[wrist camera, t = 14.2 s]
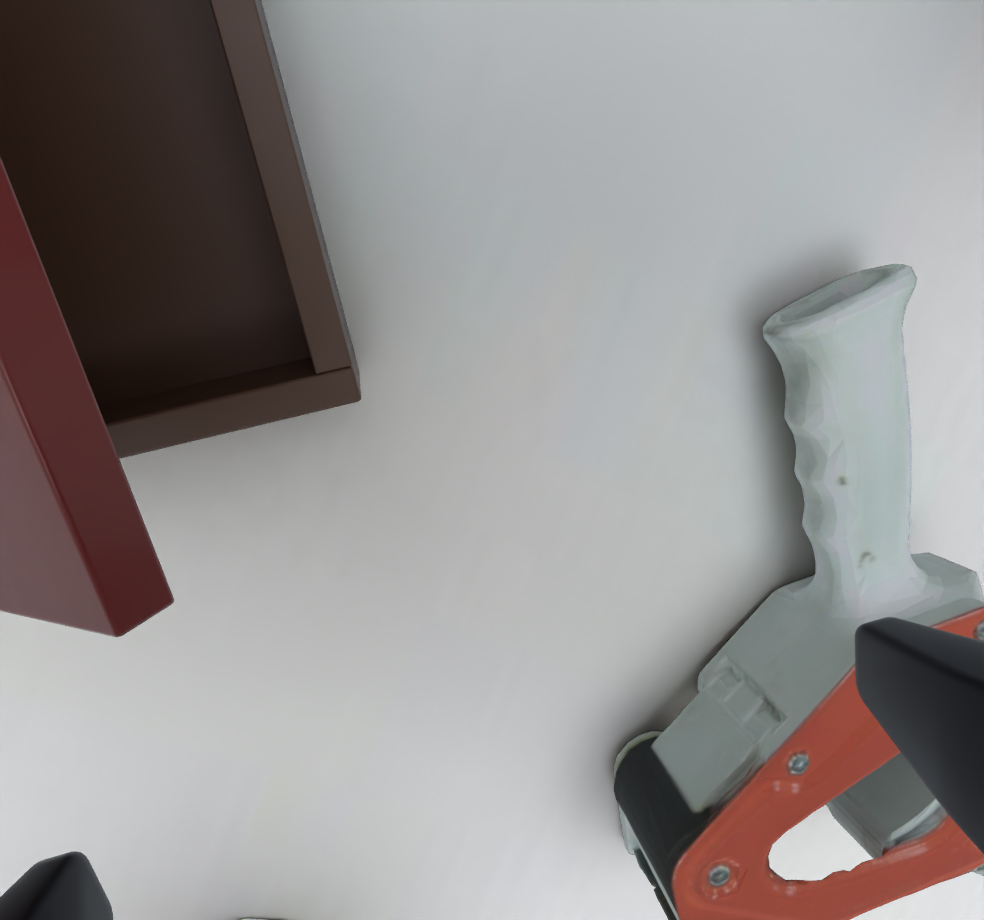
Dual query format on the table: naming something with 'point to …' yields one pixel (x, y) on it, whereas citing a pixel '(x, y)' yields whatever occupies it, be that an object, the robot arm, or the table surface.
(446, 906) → the table surface
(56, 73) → the hinged lid box
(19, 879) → the robot arm
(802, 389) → the tape dispenser
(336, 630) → the table surface
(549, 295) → the table surface
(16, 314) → the cover
